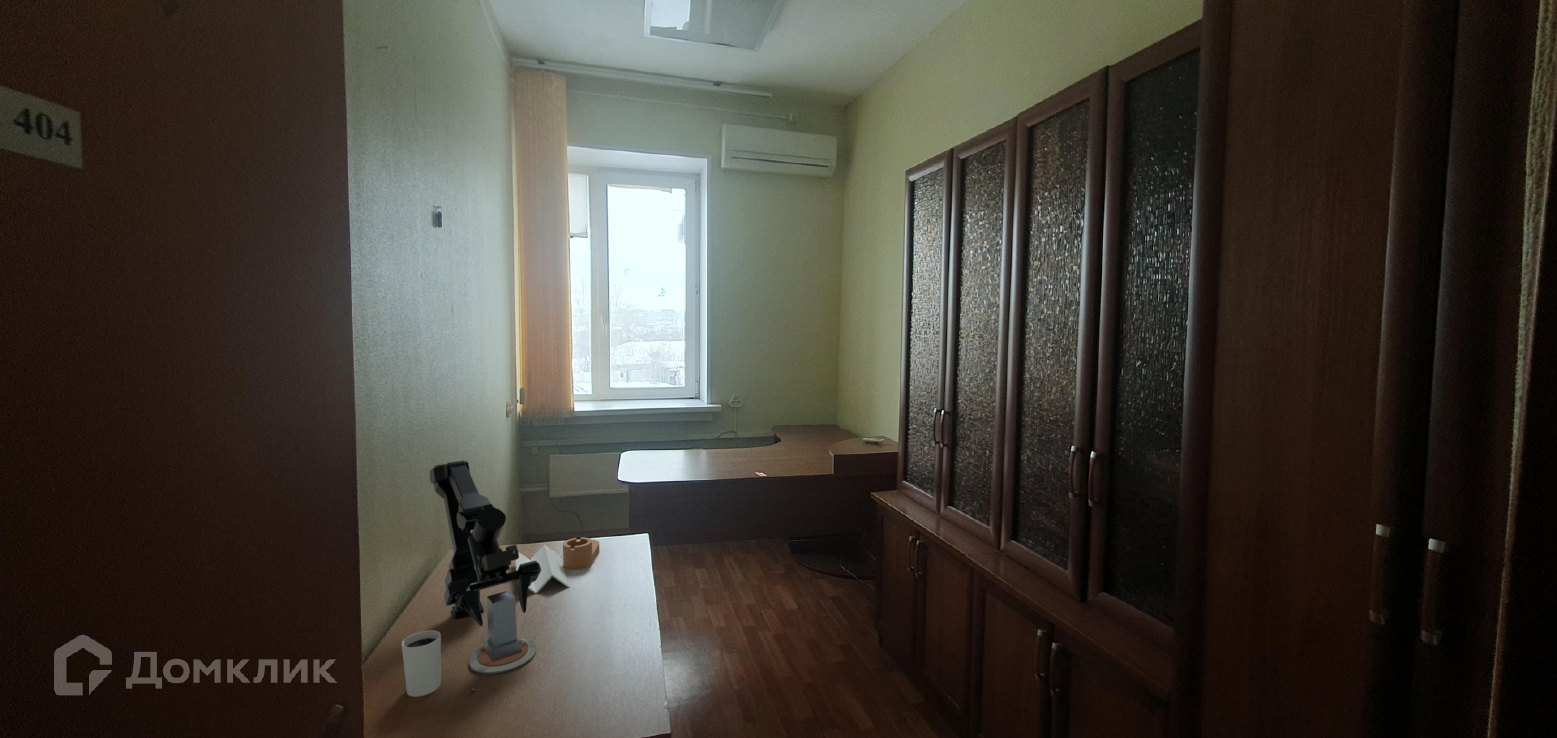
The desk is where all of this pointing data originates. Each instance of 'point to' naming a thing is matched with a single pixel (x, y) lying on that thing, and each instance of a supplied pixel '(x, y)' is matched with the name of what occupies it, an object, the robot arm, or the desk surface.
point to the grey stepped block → (502, 627)
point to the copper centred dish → (502, 660)
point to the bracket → (579, 553)
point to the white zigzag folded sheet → (545, 568)
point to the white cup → (422, 662)
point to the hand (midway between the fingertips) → (503, 618)
